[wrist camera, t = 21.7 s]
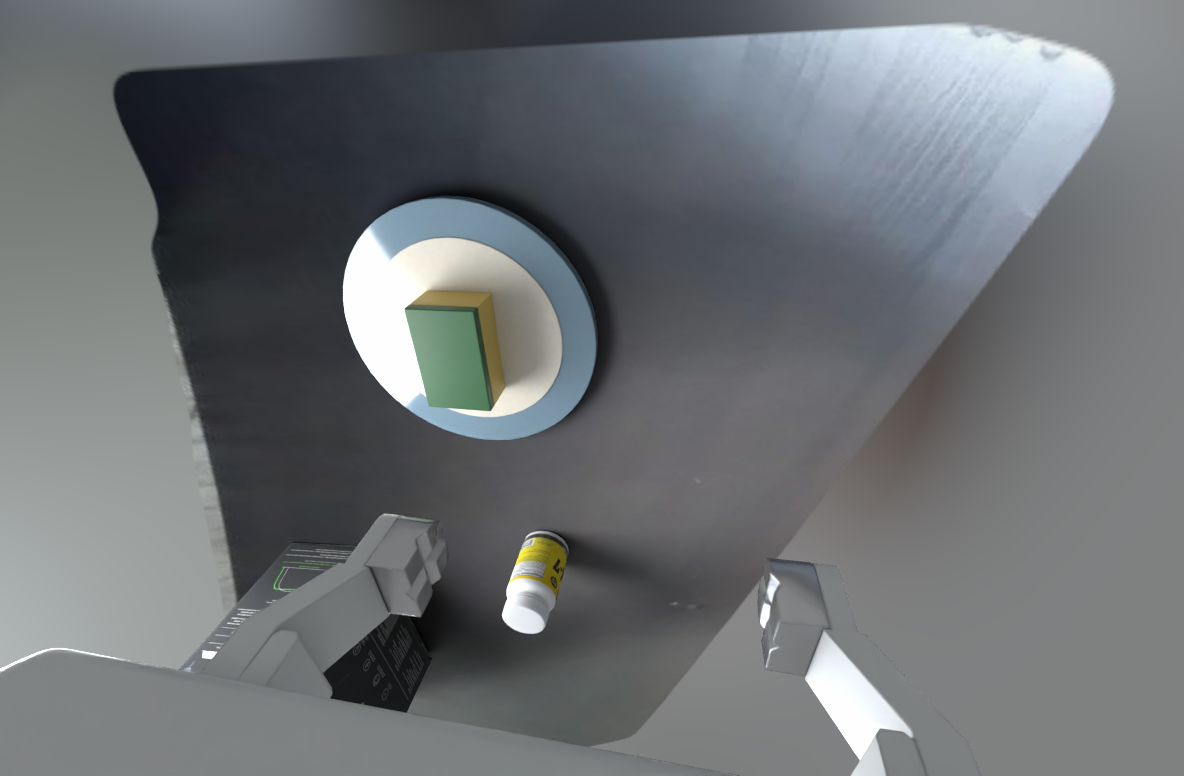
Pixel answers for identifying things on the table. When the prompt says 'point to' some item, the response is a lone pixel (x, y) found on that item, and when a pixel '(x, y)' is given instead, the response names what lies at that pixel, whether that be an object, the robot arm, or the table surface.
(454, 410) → the plate
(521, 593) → the supplement bottle
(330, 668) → the headset box
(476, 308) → the sponge
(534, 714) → the table surface
